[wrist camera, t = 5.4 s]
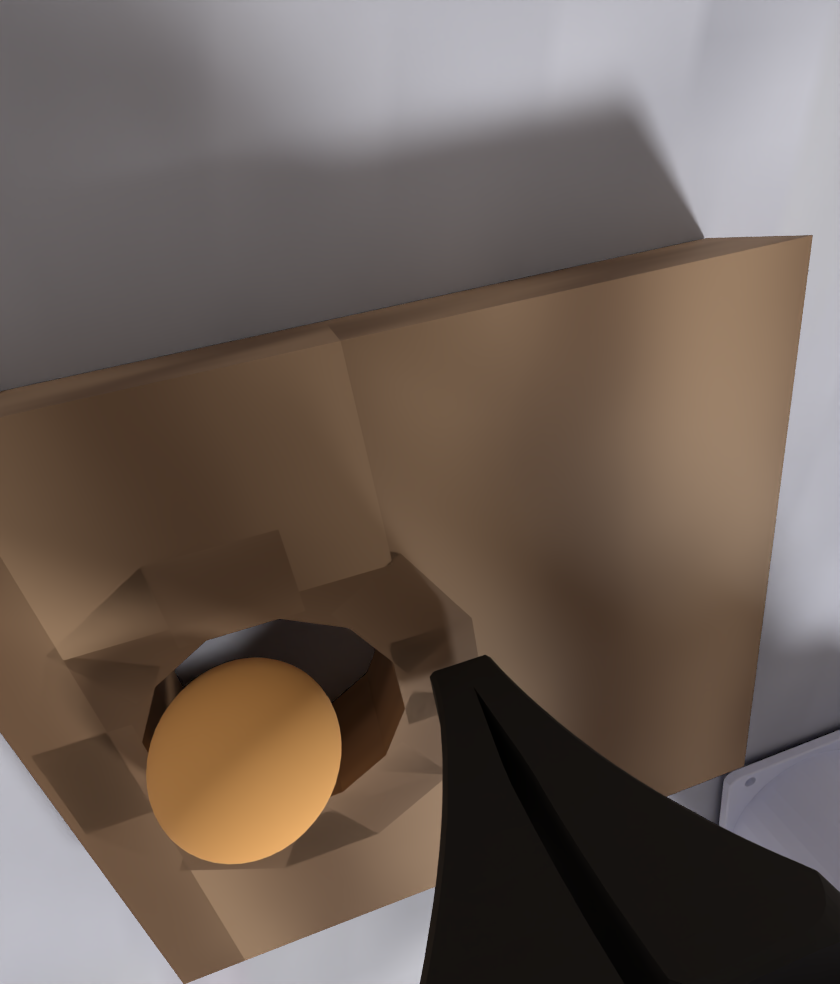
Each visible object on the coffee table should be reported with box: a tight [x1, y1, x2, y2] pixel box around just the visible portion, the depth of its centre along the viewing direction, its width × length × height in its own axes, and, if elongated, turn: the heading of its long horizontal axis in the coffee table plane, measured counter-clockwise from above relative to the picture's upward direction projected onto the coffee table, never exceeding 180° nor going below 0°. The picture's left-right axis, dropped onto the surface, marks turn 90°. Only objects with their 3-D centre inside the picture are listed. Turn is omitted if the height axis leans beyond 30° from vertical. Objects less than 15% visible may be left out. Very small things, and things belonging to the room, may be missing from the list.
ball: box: [146, 657, 341, 864], centre depth 12 cm, size 4×4×4 cm
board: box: [0, 235, 813, 984], centre depth 14 cm, size 18×16×3 cm
